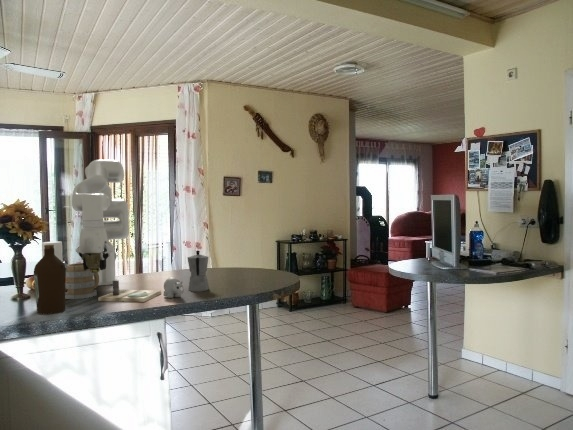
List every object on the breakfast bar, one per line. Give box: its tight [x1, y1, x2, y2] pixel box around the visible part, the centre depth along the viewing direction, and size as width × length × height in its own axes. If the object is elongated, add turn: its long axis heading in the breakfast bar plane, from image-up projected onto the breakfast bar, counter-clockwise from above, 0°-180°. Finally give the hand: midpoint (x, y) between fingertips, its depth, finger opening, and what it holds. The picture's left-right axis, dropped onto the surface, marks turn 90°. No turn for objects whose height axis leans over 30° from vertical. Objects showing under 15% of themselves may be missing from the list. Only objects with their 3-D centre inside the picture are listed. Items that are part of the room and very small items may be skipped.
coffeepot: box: [186, 249, 210, 293], centre depth 202 cm, size 15×9×18 cm, turn 10°
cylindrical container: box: [41, 241, 64, 263], centre depth 178 cm, size 7×7×25 cm
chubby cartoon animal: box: [163, 276, 185, 299], centre depth 186 cm, size 7×12×8 cm, turn 40°
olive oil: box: [33, 245, 67, 315], centre depth 166 cm, size 11×11×25 cm
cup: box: [84, 253, 104, 273], centre depth 178 cm, size 8×7×8 cm
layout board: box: [97, 279, 162, 303], centre depth 189 cm, size 20×16×8 cm
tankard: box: [65, 262, 99, 300], centre depth 197 cm, size 20×13×15 cm, turn 160°
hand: (94, 269), depth 178 cm, fingers closed on cup, 6 cm apart
